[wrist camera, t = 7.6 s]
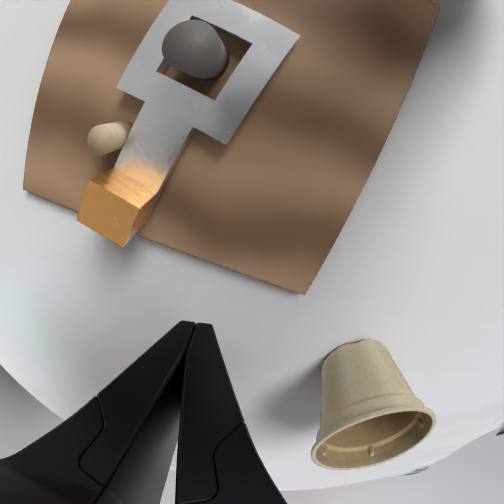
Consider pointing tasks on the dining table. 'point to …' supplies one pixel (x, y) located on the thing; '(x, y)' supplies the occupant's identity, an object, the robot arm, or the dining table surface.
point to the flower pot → (366, 409)
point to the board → (247, 134)
